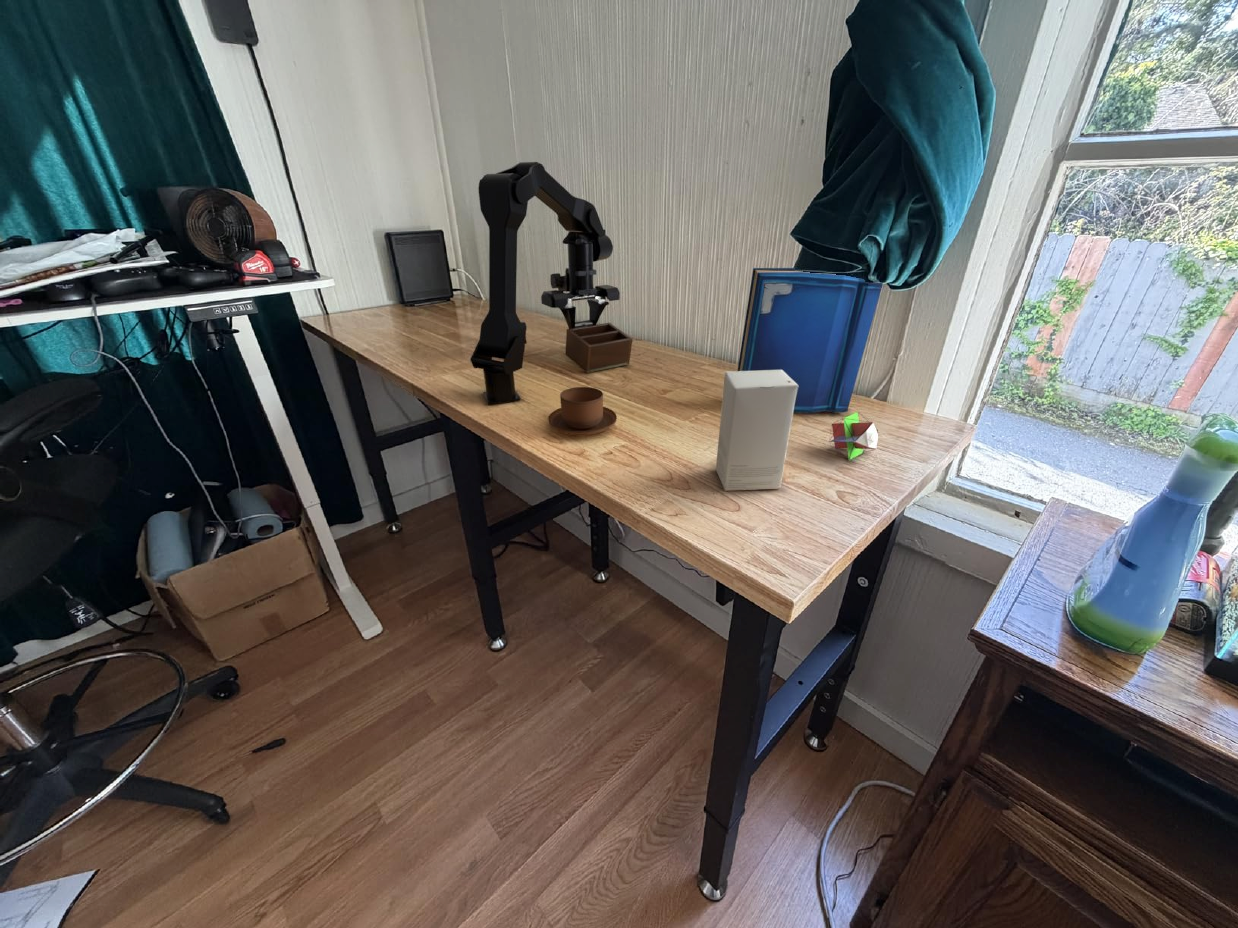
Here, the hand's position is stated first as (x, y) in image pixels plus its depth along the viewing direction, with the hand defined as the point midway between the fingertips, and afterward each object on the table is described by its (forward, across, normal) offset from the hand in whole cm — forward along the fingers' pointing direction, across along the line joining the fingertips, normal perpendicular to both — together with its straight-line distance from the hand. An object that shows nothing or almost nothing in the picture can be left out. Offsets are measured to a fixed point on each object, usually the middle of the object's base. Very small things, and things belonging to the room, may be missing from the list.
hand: (582, 332), depth 121 cm
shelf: (+5, 0, +5) cm, 7 cm away
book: (+6, -16, +51) cm, 54 cm away
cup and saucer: (+6, +22, +36) cm, 43 cm away
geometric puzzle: (+5, -8, +69) cm, 70 cm away
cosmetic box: (+5, +12, +66) cm, 67 cm away
